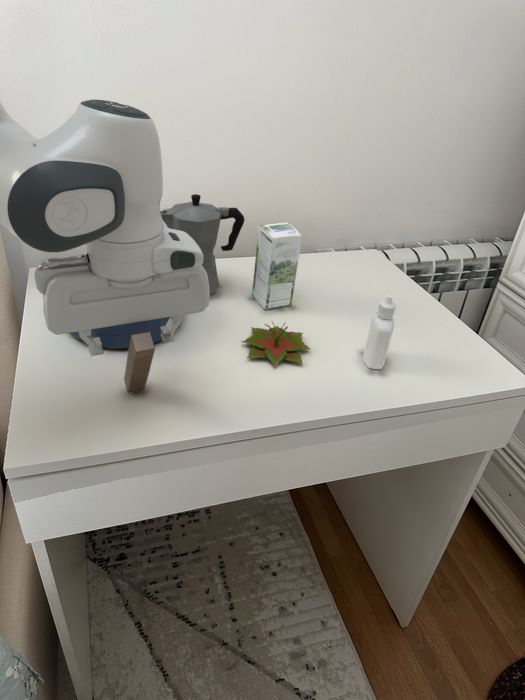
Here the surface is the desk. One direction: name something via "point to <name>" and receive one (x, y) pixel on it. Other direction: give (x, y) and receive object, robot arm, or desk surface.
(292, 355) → the lily flower
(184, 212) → the coffeepot
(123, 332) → the bowl
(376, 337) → the eye dropper bottle
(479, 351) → the desk surface
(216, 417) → the desk surface
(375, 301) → the desk surface
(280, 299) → the syrup box
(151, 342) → the stick
